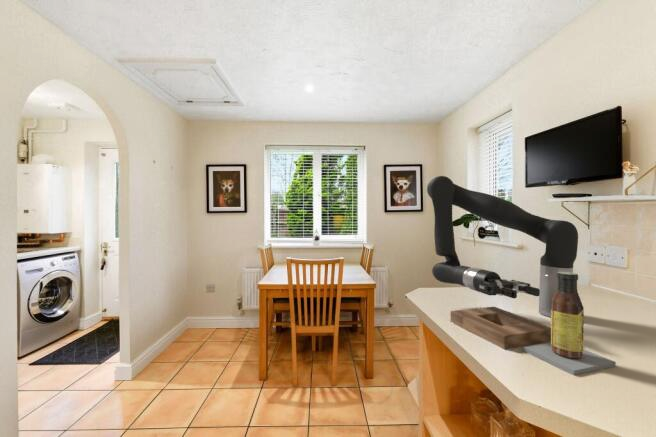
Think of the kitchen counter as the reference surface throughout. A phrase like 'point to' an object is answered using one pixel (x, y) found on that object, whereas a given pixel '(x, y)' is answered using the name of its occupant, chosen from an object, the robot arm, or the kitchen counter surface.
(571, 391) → the kitchen counter surface
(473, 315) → the seat block
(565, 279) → the sauce bottle
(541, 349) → the grey mat
